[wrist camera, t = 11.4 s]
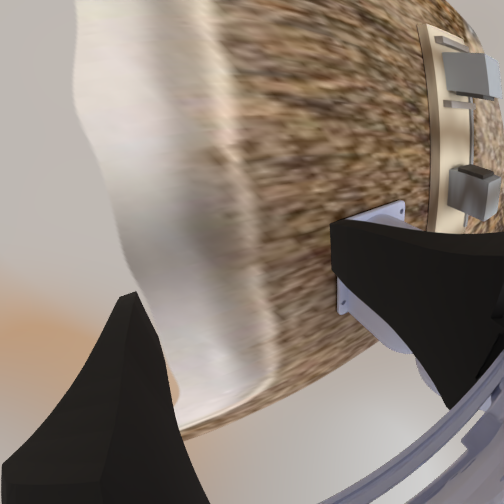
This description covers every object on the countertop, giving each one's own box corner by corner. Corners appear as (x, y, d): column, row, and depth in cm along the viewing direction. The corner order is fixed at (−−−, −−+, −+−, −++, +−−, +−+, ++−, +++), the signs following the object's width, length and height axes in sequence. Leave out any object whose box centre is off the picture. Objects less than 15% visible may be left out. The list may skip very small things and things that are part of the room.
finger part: (464, 96, 21) (502, 102, 17) (447, 93, 20) (489, 99, 16) (459, 58, 19) (498, 61, 14) (441, 52, 18) (484, 53, 13)
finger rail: (458, 228, 30) (494, 247, 25) (424, 247, 28) (466, 271, 23) (454, 39, 19) (499, 41, 14) (416, 24, 17) (470, 20, 12)
